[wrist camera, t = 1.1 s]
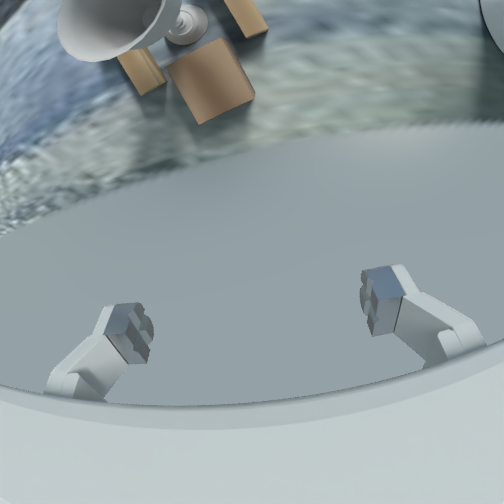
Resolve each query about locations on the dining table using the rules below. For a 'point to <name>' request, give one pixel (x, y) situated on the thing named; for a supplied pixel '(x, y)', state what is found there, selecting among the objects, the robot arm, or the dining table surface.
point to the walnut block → (211, 80)
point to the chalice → (125, 26)
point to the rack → (147, 70)
